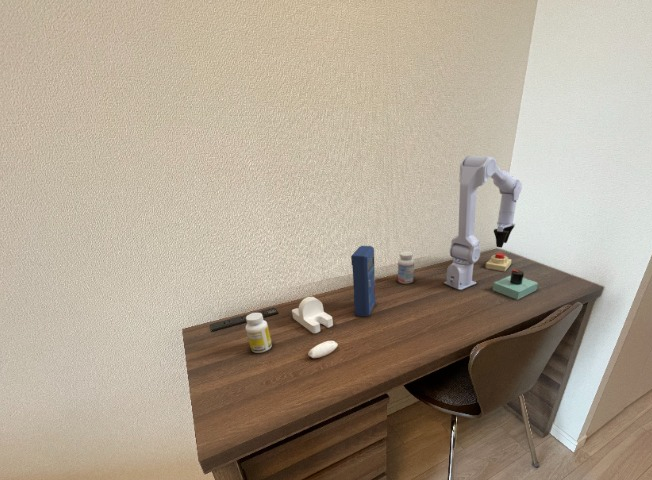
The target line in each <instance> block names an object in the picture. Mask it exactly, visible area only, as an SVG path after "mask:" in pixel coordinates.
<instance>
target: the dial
mask: <svg viewBox="0 0 652 480" xmlns="http://www.w3.org/2000/svg"><path fill="white" fill-rule="evenodd" d="M524 275H525V272H524V271H522V270H520V269H512V271H511V274H510V276H511V279H510V283H512V284H515V285H520V284H522V280H523V278H524Z"/></svg>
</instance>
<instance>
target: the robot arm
mask: <svg viewBox="0 0 652 480" xmlns="http://www.w3.org/2000/svg"><path fill="white" fill-rule="evenodd" d="M497 164H498V163H497V159H496V158H495V157H494V156H475V155H473V156H472V155H466V156H465V157H464V158H463V159H462V161H461V162H460V164H459V180H458V181H459V199H458V201H459V202H458V205H459V206H458V232H457V233H458V234H457V235H456V236H454V237H453V238H452V239H451V244H450V247H449V256H450V257H451V258H452V263H451V264H449V265H448V267H447V269H446V279H445V281H444V282H443V284H445V285H447V286H449V287H452V288H454V289H456V290H458V291H462V290H464V289H467V288H469V287H472V286H474V285H477V281H474V280H473V275H474V267H475V265H474V264H475V263H476V262H478V261H479V259H480V257H481V254H482V253H481V251H482V250H481V247H480V240H479V239H478V238H477V236H475V222H476V221H475V220H476V207H477V206H476V205H477V189H478V188H479V187H481V186H483V185H484V184H485V183H486V182H487V181H488V180H490V178H491V179H492V182H493V184H494V185H495V187H497V188H498V191H499V194H500V195H501V198H500V203H499V204H500V205H499V212H498V218H497V222H496V225H497V228H494V229H493V234H494V237H495V246H496V248H501V249H502V248H503V246H504V245H505V244H507V243H508V240H509V239H510V235H511V233H512V231H513V229H514V228H515V227H516V226H517V223H516V222H514V218H515V212H516V205H517V201H518V200H519V197H520V194H521V192H522V189H523V184H522V182H521V181H520V180H519V179H515V178H514V176H513V175H511V174H510V173H509V170H507V169H503V170H501V168H500V167H499V166H498V165H497Z"/></svg>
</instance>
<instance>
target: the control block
mask: <svg viewBox="0 0 652 480" xmlns="http://www.w3.org/2000/svg"><path fill="white" fill-rule="evenodd" d="M495 255H496V254H493V255H491V257H490V259H488V261H487V262H485V269H488V270H489V269H490V270H494V271H501V272H506V271H507V269H508V268H509V267H510V266H511V265H512V258H509V257H508V256H507V255H505V256H504V259H497V258H495Z"/></svg>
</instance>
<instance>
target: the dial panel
mask: <svg viewBox="0 0 652 480" xmlns="http://www.w3.org/2000/svg"><path fill="white" fill-rule="evenodd" d="M510 279H511V275H509V276H506V277H504V278H501V279H499V280H497V281H494V282H493V285H492V291H493V292H496V293H498V294H502V295H504V296H506V297H509V298H512V299H514V300H516V301H518V300H520V299H522V298H524V297H526V296H528V295H530V294H532V293H534V292H535V291H536V292H537V289H538V286H539V282H537V281H534V280H531V279H528V278H526V277H523V280H522V284H520V285H515V284H512V283H510Z"/></svg>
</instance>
